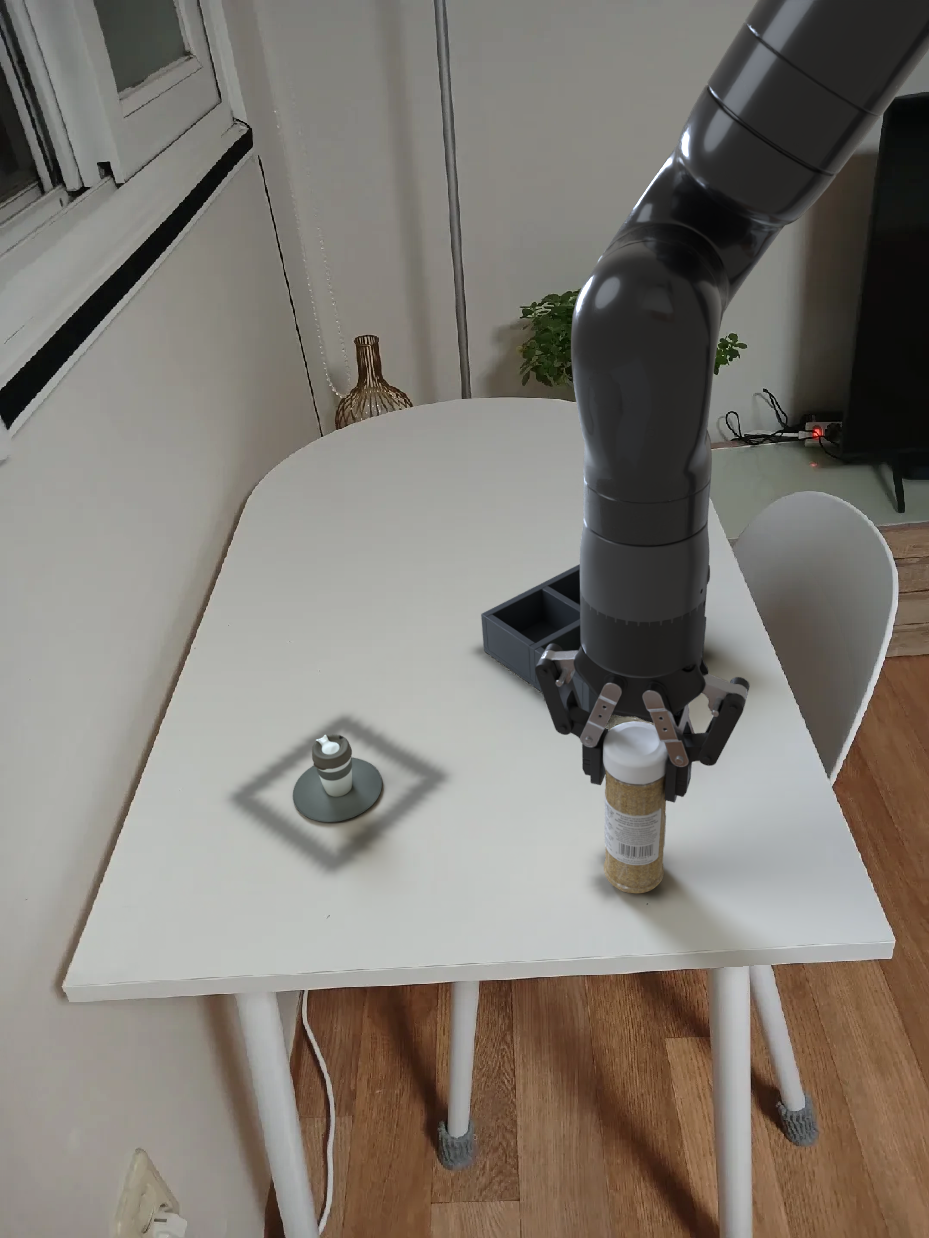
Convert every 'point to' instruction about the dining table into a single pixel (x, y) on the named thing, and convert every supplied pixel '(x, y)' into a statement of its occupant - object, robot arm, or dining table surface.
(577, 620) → the divided storage tray
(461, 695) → the dining table surface
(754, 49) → the robot arm
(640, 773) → the sprinkles bottle
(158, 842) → the dining table surface
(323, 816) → the coffee cup
